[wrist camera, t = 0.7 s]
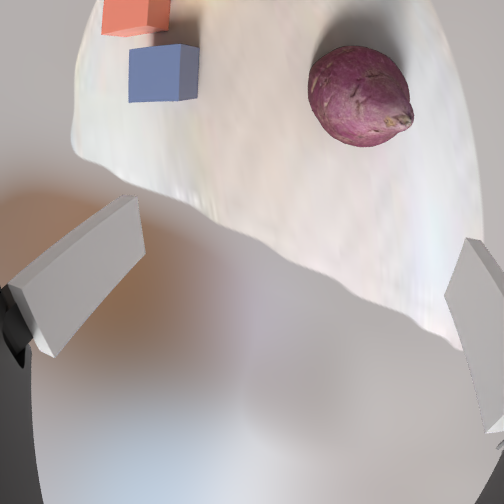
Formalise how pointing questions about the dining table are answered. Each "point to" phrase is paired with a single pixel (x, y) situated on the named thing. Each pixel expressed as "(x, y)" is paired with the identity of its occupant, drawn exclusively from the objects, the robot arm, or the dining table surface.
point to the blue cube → (163, 73)
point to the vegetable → (359, 96)
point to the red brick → (135, 17)
